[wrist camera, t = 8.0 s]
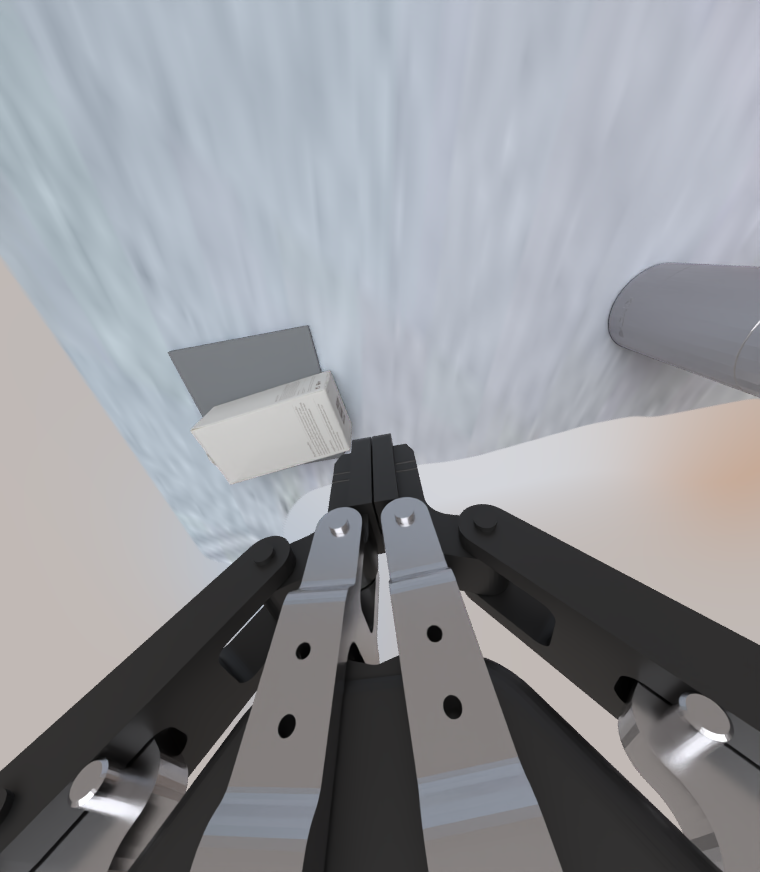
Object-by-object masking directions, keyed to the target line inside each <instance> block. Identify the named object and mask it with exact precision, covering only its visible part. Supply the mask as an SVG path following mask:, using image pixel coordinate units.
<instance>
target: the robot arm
mask: <svg viewBox="0 0 760 872" xmlns="http://www.w3.org/2000/svg"><path fill="white" fill-rule="evenodd" d="M609 332H610V334H611V337H612V339H613V340H614V341H615V342H616V343H617V344H619V345H620V346H622V347H625V348H627V349H630V350H633V351H636V352H638V353H641V354H644V355H646V356H649V357H651V358H654V359H657V360H660V361H662V362H665V363H668V364H670V365H673V366H676V367H678V368H681V369H684V370H687V371H689V372H692V373H695V374H697V375H700V376H703V377H705V378H708V379H711V380H714V381H716V382H719V383H722V384H724V385H727V386H730V387H733V388H735V389H738V390H741V391H743V392H746V393H749V394H752V395H755V396H757V397H760V267H756V266H733V265H711V264H691V263H663V264H658V265H656V266H653V267H650V268H648V269H647V270H645V271H643V272H642V273H640V274H639V275H638V276H636V277H635V278H634V279H633V280H631V281H630V282H629V284H628V285H627V286H626V287H625V288H624V289H623V290H622V292H621V293H620V295H619V296H618V297H617V299H616V301H615V303H614V305H613V307H612V310H611V313H610V318H609ZM333 474H334V476H333V480H332V483H333V484H332V487H331V494H330V501H329V508H328V513H327V514H325V515H324V516H323V517H322V518H321V519H320V520H319V522H318V524H317V527H316V530H315V532H314V533H312V534H311V535H309V536H307V537H304V538H302V539H300V540H298V541H295V542H293V543H291V544H289V543H288V541H287V540H286V539H285V538H283V537H280V536H270V537H267V538H264V539H262V540H260V541H258V542H257V543H255V544H254V545H252V546H251V547H250V548H249V549H248V550H247V551H246V552H245V553H243V554H242V555H241V556H240V557H239V558H238V559H237V560H236V561H234V562H233V563H232V564H231V565H230V566H229V567H228V568H227V569H226V570H225V571H223V572H222V573H221V574H220V575H219V576H218V577H217V578H216V579H214V580H213V581H212V582H211V583H210V584H209V585H208V586H207V587H205V588H204V589H203V590H202V591H201V592H200V593H199V594H198V595H197V596H196V597H194V598H193V599H192V600H191V601H190V602H189V603H188V604H187V605H185V606H184V607H183V608H182V609H181V610H180V611H179V612H178V613H176V614H175V615H174V616H173V617H172V618H171V619H170V620H169V621H168V622H166V623H165V624H164V625H163V626H162V627H161V628H160V629H159V630H158V631H156V632H155V633H154V634H153V635H152V636H151V637H150V638H149V639H148V640H146V641H145V642H144V643H143V644H142V645H141V646H140V647H139V648H137V649H136V650H135V651H134V652H133V653H132V654H131V655H130V656H128V657H127V658H126V659H125V660H124V661H123V662H122V663H121V664H120V665H119V666H117V667H116V668H115V669H114V670H113V671H112V672H111V673H110V674H108V675H107V676H106V677H105V678H104V679H103V680H102V681H101V682H99V684H98V685H96V686H95V687H94V688H93V689H92V690H91V691H90V692H88V693H87V694H86V695H85V696H84V697H83V698H82V699H81V700H80V701H78V702H77V703H76V704H75V705H74V706H73V707H72V708H70V709H69V710H68V711H67V712H66V713H65V714H64V715H63V716H62V717H61V718H59V719H58V720H57V721H56V722H55V723H54V724H53V725H52V726H51V727H49V728H48V729H47V730H46V731H45V732H44V733H43V734H41V735H40V736H39V737H38V738H37V739H36V740H35V741H34V742H33V743H31V744H30V745H29V746H28V747H27V748H26V749H25V750H24V751H22V752H21V753H20V754H19V755H18V756H17V757H16V758H15V759H14V760H12V761H11V762H10V763H9V764H8V765H7V766H6V767H5V768H4V769H2V770H1V771H0V872H760V645H758V644H756V643H755V642H753V641H751V640H749V639H747V638H745V637H743V636H741V635H739V634H737V633H736V632H733V631H732V630H730V629H728V628H726V627H724V626H722V625H720V624H718V623H716V622H715V621H713V620H711V619H709V618H707V617H705V616H703V615H701V614H699V613H698V612H696V611H694V610H692V609H690V608H688V607H686V606H684V605H682V604H680V603H679V602H677V601H674V600H673V599H671V598H669V597H667V596H665V595H663V594H661V593H660V592H658V591H656V590H654V589H652V588H650V587H648V586H646V585H644V584H642V583H641V582H639V581H637V580H635V579H633V578H631V577H629V576H627V575H625V574H623V573H621V572H620V571H618V570H615V569H614V568H612V567H610V566H608V565H606V564H604V563H603V562H601V561H599V560H597V559H595V558H593V557H591V556H589V555H587V554H585V553H583V552H582V551H580V550H578V549H576V548H574V547H572V546H570V545H568V544H566V543H565V542H563V541H561V540H559V539H557V538H555V537H553V536H551V535H549V534H547V533H546V532H544V531H541V530H540V529H538V528H536V527H534V526H532V525H530V524H529V523H527V522H525V521H523V520H521V519H519V518H517V517H515V516H513V515H511V514H509V513H508V512H506V511H504V510H502V509H500V508H497V507H495V506H492V505H486V504H478V505H473V506H471V507H468V508H466V509H465V510H464V511H463V512H462V513H461V514H460V516H459V515H450V514H443V513H440V512H438V511H435V510H434V509H432V508H431V507H430V506H429V505H428V504H427V503H426V501H425V499H424V495H423V491H422V486H421V482H420V477H419V473H418V469H417V464H416V460H415V456H414V451H413V450H412V449H411V448H410V447H409V446H408V445H407V444H402V445H396V446H393V443H392V438H391V434H385V435H379V436H373V437H372V438H371V437H368V438H362V439H357V440H353V441H352V451H351V453H350V454H345V455H341V456H340V458H339V459H338V460H337V462H336V463H335V466H334V473H333ZM385 549H386V552H385ZM382 553H386V555H387V562H388V569H389V575H390V580H389V588H390V596H391V603H392V609H393V616H394V623H395V630H396V637H397V644H398V651H399V656H397V657H394V658H392V659H390V660H388V661H385V662H383V663H381V664H380V663H379V653H378V645H377V625H378V600H379V599H378V598H379V572H378V554H382ZM460 590H461V591H465V593H466V594H467V596H468V597H469V598H470V599H471V600H472V601H474V602H475V603H476V604H477V605H478V606H480V607H481V608H482V609H483V610H485V611H486V612H487V613H488V614H490V615H491V616H492V617H493V618H495V619H496V620H497V621H498V622H499V623H500V624H502V625H503V626H504V627H505V628H507V629H508V630H509V631H510V632H511V633H513V634H514V635H515V636H516V637H518V638H519V639H520V640H521V641H522V642H524V643H525V644H526V645H527V646H529V647H530V648H531V649H533V651H535V652H536V653H537V654H538V655H540V656H541V657H542V658H543V659H544V660H546V661H547V662H548V663H550V664H551V665H552V666H553V667H554V668H555V669H557V670H558V671H559V672H560V673H562V674H563V675H564V676H565V677H566V678H568V679H569V680H570V681H571V682H572V683H574V684H575V685H576V686H577V687H579V688H580V689H581V690H582V691H584V692H585V693H586V694H587V695H589V696H590V697H591V698H592V699H593V700H595V701H596V702H597V703H598V704H599V705H601V706H602V707H603V708H604V709H605V710H607V711H608V712H609V713H610V714H612V715H613V716H614V717H615V718H617V719H618V729H619V735H620V739H621V742H622V745H623V747H624V750H625V752H626V754H627V756H628V757H629V759H630V761H631V762H632V764H633V765H634V767H635V768H636V770H637V771H638V772H639V773H640V775H641V776H642V777H643V778H644V779H645V780H646V781H647V782H648V783H649V784H650V785H651V787H652V788H653V789H654V790H655V791H656V792H657V793H658V794H659V795H660V796H661V798H662V799H663V800H664V802H665V803H666V804H667V805H668V807H669V808H670V810H671V811H672V813H673V814H674V816H675V818H676V820H677V821H678V823H679V825H680V827H681V829H682V831H683V833H682V832H681V831H680V830H679V829H678V828H677V827H676V826H675V825H674V824H673V823H672V822H671V821H669V819H668V818H666V817H665V816H664V815H663V814H662V813H661V812H660V811H659V810H658V809H657V808H656V807H655V806H654V805H653V804H652V803H651V802H649V800H648V799H647V798H646V797H645V796H643V795H642V794H641V793H640V792H639V791H638V790H637V789H636V788H635V787H634V786H633V785H632V784H631V783H630V782H629V781H628V780H627V779H626V778H625V777H624V776H623V775H622V774H621V773H619V771H617V770H616V769H615V768H614V767H613V766H612V765H611V764H610V763H609V762H608V761H607V760H606V759H605V758H604V757H603V756H602V755H601V754H600V753H599V752H598V751H597V750H596V749H595V748H594V747H593V746H591V745H590V744H589V743H588V742H587V741H586V740H585V739H584V738H583V737H582V736H581V735H580V734H579V733H578V732H577V731H576V730H575V729H574V728H573V727H572V726H571V725H570V724H569V723H568V722H567V721H565V720H564V719H563V718H562V717H561V716H560V715H559V714H558V713H557V712H556V711H555V710H554V709H553V708H552V707H551V706H550V705H549V704H548V703H547V702H546V701H545V700H544V699H543V698H542V697H541V696H539V695H538V694H537V693H536V692H535V691H534V690H533V689H532V688H531V687H530V686H529V685H528V684H527V683H526V682H524V681H523V680H522V679H521V678H519V677H518V676H517V675H516V674H514V673H513V672H511V671H510V670H508V669H507V668H505V667H503V666H502V665H500V664H498V663H496V662H494V661H492V660H489V659H487V658H483V656H482V653H481V650H480V647H479V644H478V641H477V639H476V636H475V633H474V630H473V627H472V624H471V621H470V619H469V616H468V613H467V610H466V607H465V604H464V602H463V599H462V596H461V593H460ZM263 604H264V607H263V608H262V609H261V610H260V611H259V612H258V613H257V614H256V615H255V616H254V617H253V618H252V619H251V621H250V622H249V623H248V624H247V625H246V626H245V627H244V628H243V629H242V630H241V631H240V633H238V635H237V636H236V637H235V638H234V639H233V640H232V641H231V642H230V643H229V644H228V645H227V646H226V647H224V646H225V645H226V644H227V643H228V642H229V641H230V639H231V638H232V637H233V636H234V635H235V634H236V633H237V632H238V631H239V630H240V629H241V628H242V627H243V626H244V625H245V623H246V622H247V621H248V620H249V619H250V618H251V617H252V616H253V615H254V614H255V613H256V612H257V611H258V609H259V608H260V607H261V606H262V605H263ZM256 691H257V693H256V696H255V699H254V702H253V705H252V706H251V707H250V709H248V711H247V712H246V713H245V714H244V715H243V717H242V718H241V719H240V720H239V722H238V723H237V724H236V726H235V727H234V729H233V730H232V731H231V732H230V734H229V735H228V736H227V738H226V739H225V740H224V742H223V743H222V745H221V746H220V747H219V749H218V750H217V751H216V753H215V754H214V755H213V757H212V758H211V759H210V761H209V762H208V763H207V765H206V766H205V767H204V769H203V770H202V771H201V773H200V774H199V776H198V777H197V778H196V780H195V781H194V782H193V784H192V785H191V786H190V788H189V789H188V790H187V792H186V788H187V783H188V777H189V776H190V774H191V773H192V772H193V771H194V769H195V768H196V766H197V765H198V764H199V763H200V762H201V760H202V759H203V758H204V757H205V755H206V754H207V753H208V752H209V750H210V749H211V748H212V746H213V745H214V744H215V743H216V741H217V740H218V739H219V738H220V736H221V735H222V734H223V733H224V731H225V730H226V729H227V727H228V726H229V725H230V724H231V722H232V721H233V720H234V718H235V717H236V716H237V715H238V714H239V712H240V711H241V710H242V708H243V707H244V706H245V705H246V703H247V702H248V701H249V700H250V698H251V697H252V696H253V694H254V693H255V692H256Z"/></svg>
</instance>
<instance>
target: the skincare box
mask: <svg viewBox="0 0 760 872" xmlns="http://www.w3.org/2000/svg"><path fill="white" fill-rule="evenodd" d="M351 430H352V423H351V421H350V419H349V416H348V414H347V411H346V408H345V406H344V403H343V401H342V399H341V396H340V394H339V391H338V389H337V386H336V384H335V381H334V379H333V376H332V373H331V371H329V370H328V371H325V372H322V373H319V374H315V375H312V376H309V377H306V378H303V379H300V380H296V381H293V382H290V383H287V384H284V385H280V386H277V387H274V388H271V389H268V390H265V391H262V392H258V393H255V394H252V395H249V396H246V397H243V398H240V399H236V400H233V401H230V402H227V403H224V404H221V405H218V406H214V407H213V408H212V409H211V410H210V411H209V412H208V413H207V414H206V415H205V416H204V417H203V418H202V419H201V420H200V421H199V422H198V423H197V424H195V425H194V426H193V427H192V428H191V430H190V431H191V433H192V434H193V436H194V437H195V438H196V439H197V441H198V442H199V443H200V445H201V446H202V447H203V449H204V450H205V451H206V454H207V456H208V458H209V460H210V461H211V462H212V463H213V464H214V465H216V466H217V467H218V469H219V470H220V471H221V473H222V474H223V475H224V477H225V478H226V479H227V481H228V482H229V484H230V485H231V484H235V483H238V482H242V481H245V480H249V479H252V478H255V477H259V476H262V475H266V474H269V473H273V472H276V471H280V470H283V469H286V468H290V467H293V466H297V465H300V464H304V463H307V462H311V461H314V460H318V459H321V458H325V457H328V456H332V455H335V454H338V453H342V452H345V451H349V450H350V447H351Z"/></svg>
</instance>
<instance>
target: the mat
mask: <svg viewBox="0 0 760 872" xmlns="http://www.w3.org/2000/svg"><path fill="white" fill-rule="evenodd" d="M168 354H169V356H170V358H171V360H172V361H173V363H174V365H175V367H176V369H177V371H178V372H179V374H180V376H181V378H182V380H183V382H184V383H185V385H186V387H187V389H188V391H189V393H190V394H191V396H192V398H193V400H194V402H195V404H196V406H197V407H198V409H199V411H200V413H201V415H202V417H204V416H205V415H206V414H207V413H208V412H209V411H210V410H211V409H212V408H213V407H214V406H218V405H221V404H224V403H227V402H230V401H233V400H236V399H240V398H243V397H246V396H249V395H252V394H255V393H258V392H262V391H265V390H268V389H271V388H274V387H277V386H280V385H284V384H287V383H290V382H293V381H296V380H300V379H303V378H306V377H309V376H312V375H315V374H319V373H322V372H321V369H320V365H319V361H318V358H317V354H316V351H315V347H314V344H313V340H312V336H311V333H310V329H309V326H308V325H307V326H302V327H297V328H291V329H286V330H280V331H275V332H270V333H264V334H259V335H254V336H248V337H243V338H238V339H232V340H227V341H222V342H216V343H211V344H206V345H200V346H195V347H190V348H184V349H179V350H174V351H170V352H168ZM341 455H344V452H342V453H338V454H335V455H332V456H328V457H325V458H321V459H318V460H314V461H311V462H307V463H312V462H317V461H323V460H329V459H335V458H340V456H341ZM304 464H306V463H304Z"/></svg>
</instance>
